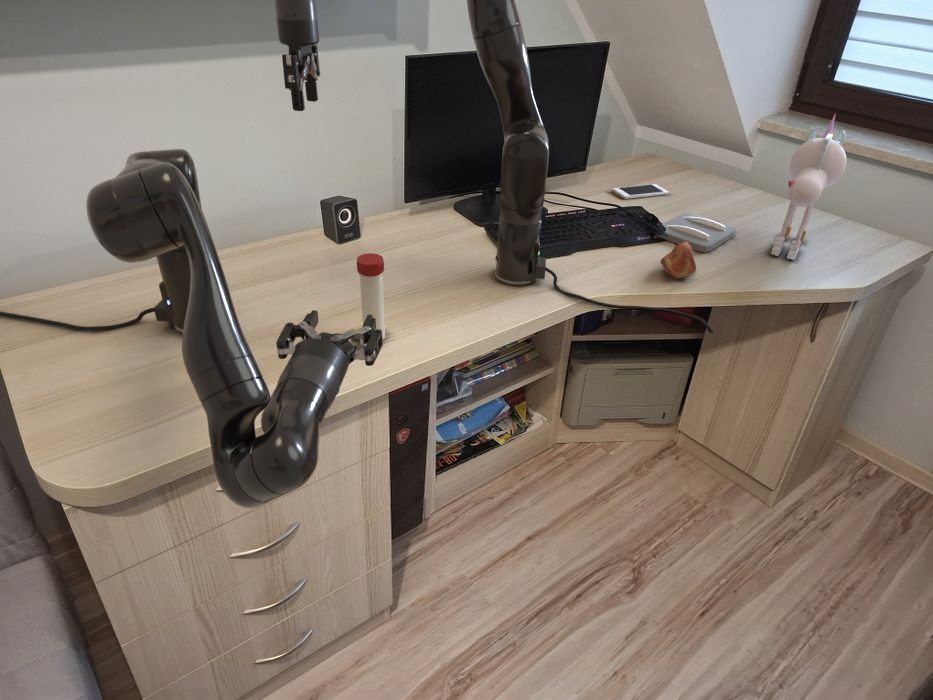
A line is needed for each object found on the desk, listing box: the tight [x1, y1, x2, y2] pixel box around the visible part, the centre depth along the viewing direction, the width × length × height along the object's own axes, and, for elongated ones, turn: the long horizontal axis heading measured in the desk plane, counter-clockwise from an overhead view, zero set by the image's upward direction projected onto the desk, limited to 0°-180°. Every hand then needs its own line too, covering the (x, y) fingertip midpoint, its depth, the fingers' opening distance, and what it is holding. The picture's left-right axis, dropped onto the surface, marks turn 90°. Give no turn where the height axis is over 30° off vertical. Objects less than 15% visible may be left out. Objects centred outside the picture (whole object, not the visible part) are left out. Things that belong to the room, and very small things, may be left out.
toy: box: [770, 112, 847, 261], centre depth 159 cm, size 12×36×30 cm, turn 148°
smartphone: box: [611, 183, 669, 200], centre depth 193 cm, size 7×15×1 cm, turn 111°
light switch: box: [654, 212, 737, 253], centre depth 167 cm, size 18×3×15 cm
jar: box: [359, 273, 386, 340], centre depth 118 cm, size 4×4×16 cm
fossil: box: [660, 241, 697, 279], centre depth 147 cm, size 13×8×10 cm
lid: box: [356, 252, 385, 276], centre depth 114 cm, size 5×5×2 cm
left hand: (343, 317), depth 97 cm, fingers open, 8 cm apart
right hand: (306, 105), depth 129 cm, fingers open, 8 cm apart
